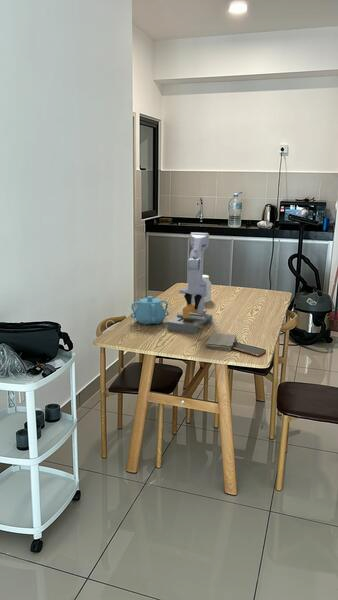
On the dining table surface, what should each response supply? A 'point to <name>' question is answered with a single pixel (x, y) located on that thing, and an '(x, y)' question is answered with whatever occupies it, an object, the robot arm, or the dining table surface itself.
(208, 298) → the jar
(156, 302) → the decorative pot
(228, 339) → the washcloth
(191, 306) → the notched orange plank
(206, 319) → the grey frame
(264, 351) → the dining table surface
